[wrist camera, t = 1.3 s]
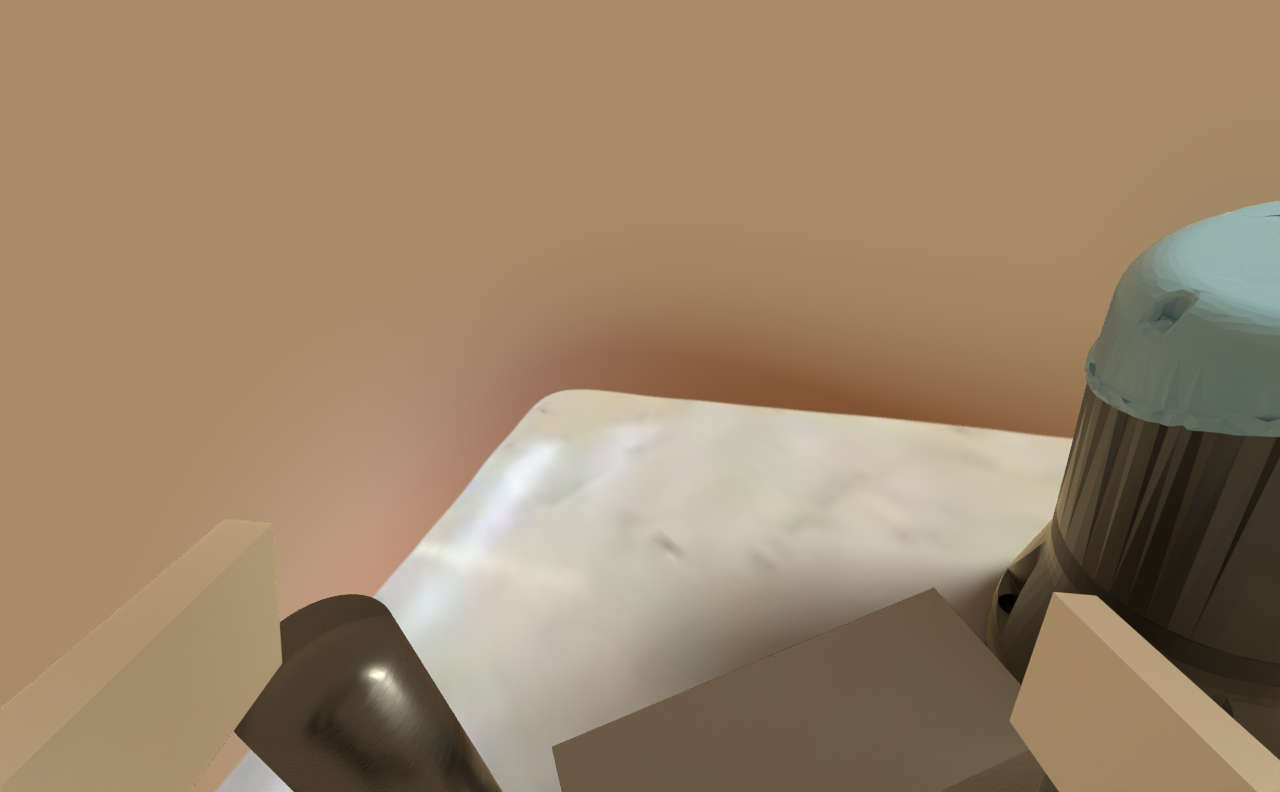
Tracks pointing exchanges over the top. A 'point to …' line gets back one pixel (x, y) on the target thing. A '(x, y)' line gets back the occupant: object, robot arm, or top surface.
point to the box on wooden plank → (828, 719)
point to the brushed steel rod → (358, 709)
